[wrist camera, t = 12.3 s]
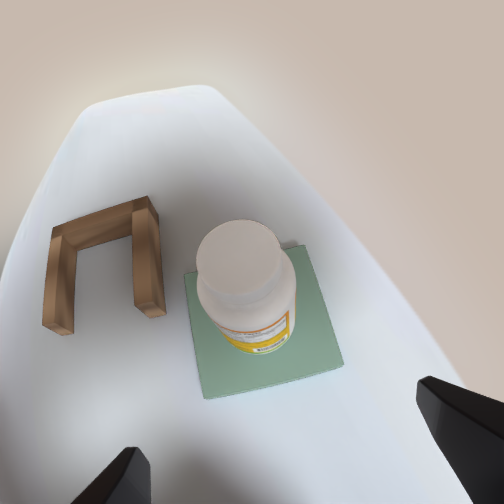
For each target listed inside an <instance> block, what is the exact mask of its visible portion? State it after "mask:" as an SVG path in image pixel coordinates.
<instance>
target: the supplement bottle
mask: <svg viewBox="0 0 504 504" xmlns="http://www.w3.org/2000/svg"><path fill="white" fill-rule="evenodd" d="M196 266H197V271H198V277H197V293H198V297H199V300H200V303H201V305H202V307H203V308H204V310H205V311H206V313H207V314H208V316H209V317H210V318H211V320H212V321H213V322H214V324H215V325H216V326H217V327H218V329H219V330H220V331H221V333H222V334H223V335H224V337H225V338H226V339H227V341H228V342H229V343H230V344H231V345H233V346H234V347H235V348H237V349H238V350H240V351H242V352H244V353H248V354H255V355H258V354H266V353H270V352H272V351H275V350H276V349H278V348H280V347H281V346H282V345H283V344H284V343H285V342H286V341H287V340H288V339H289V337H290V336H291V334H292V332H293V329H294V326H295V319H296V276H295V271H294V267H293V264H292V262H291V260H290V259H289V257H288V256H287V254H286V253H285V252H284V251H283V250H282V249H281V247H280V244H279V241H278V239H277V237H276V236H275V234H274V233H273V232H272V231H271V230H270V229H269V228H267V227H266V226H264V225H263V224H261V223H258V222H256V221H252V220H246V219H240V220H232V221H228V222H225V223H223V224H221V225H219V226H217V227H215V228H214V229H213V230H211V231H210V232H209V233H208V234H207V235H206V236H205V237H204V239H203V240H202V242H201V244H200V246H199V248H198V251H197V255H196Z"/></svg>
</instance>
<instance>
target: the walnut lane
mask: <svg viewBox="0 0 504 504" xmlns="http://www.w3.org/2000/svg"><path fill="white" fill-rule="evenodd" d="M128 235H132V256H133V287H134V305H135V306H136V307H137V308H138V309H139V310H141V311H142V312H143V313H144V314H145V315H147V316H148V317H149V318H153V317H158V316H163V315H166V307H165V297H164V287H163V277H162V265H161V252H160V238H159V221H158V214H157V212H156V210H155V208H154V207H153V205H152V203H151V201H150V199H149V198H148V196H145V197H142V198H138V199H135V200H132V201H129V202H125V203H122V204H119V205H116V206H113V207H110V208H107V209H104V210H101V211H98V212H95V213H92V214H89V215H86V216H83V217H80V218H78V219H75V220H72V221H69V222H66V223H64V224H61V225H58V226H56V227H53V229H52V235H51V242H50V248H49V255H48V263H47V271H46V280H45V290H44V302H43V319H42V325H43V326H45V327H47V328H48V329H50V330H52V331H54V332H56V333H58V334H60V335H68V334H73V333H74V291H75V273H76V260H77V251H79V250H82V249H85V248H88V247H92V246H95V245H98V244H101V243H105V242H108V241H111V240H115V239H118V238H122V237H125V236H128Z"/></svg>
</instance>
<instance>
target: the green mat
mask: <svg viewBox="0 0 504 504" xmlns="http://www.w3.org/2000/svg"><path fill="white" fill-rule="evenodd" d="M283 251H284V252H285V253H286V254H287V256H288V257H289V259H290V260H291V262H292V264H293V267H294V271H295V276H296V319H295V326H294V329H293V332H292V334H291V336H290V337H289V339H288V340H287V341H286V342H285V343H284V344H283V345H282V346H281V347H280V348H278V349H276V350H275V351H272V352H270V353H266V354H258V355H255V354H248V353H244V352H242V351H240V350H238V349H237V348H235V347H234V346H233V345H231V344H230V343H229V342H228V341H227V339H226V338H225V337H224V335H223V334H222V333H221V331H220V330H219V329H218V327H217V326H216V325H215V324H214V322H213V321H212V320H211V318H210V317H209V316H208V314H207V313H206V311H205V310H204V308H203V307H202V305H201V303H200V300H199V297H198V293H197V277H198V271H196V272H192V273H188V274H184V279H185V287H186V294H187V301H188V308H189V315H190V322H191V328H192V335H193V341H194V347H195V353H196V359H197V365H198V370H199V376H200V381H201V387H202V392H203V397H204V399H214V398H219V397H224V396H230V395H235V394H239V393H244V392H249V391H253V390H258V389H262V388H266V387H271V386H275V385H279V384H283V383H287V382H291V381H295V380H298V379H302V378H306V377H309V376H313V375H316V374H320V373H323V372H327V371H330V370H333V369H336V368H340V367H342V366H343V365H344V362H343V359H342V356H341V352H340V349H339V346H338V343H337V340H336V336H335V333H334V330H333V327H332V324H331V321H330V318H329V315H328V312H327V309H326V305H325V302H324V299H323V296H322V293H321V290H320V288H319V285H318V282H317V279H316V276H315V273H314V270H313V267H312V264H311V261H310V259H309V256H308V253H307V250H306V247H305V245H301V246H297V247H293V248H289V249H285V250H283Z"/></svg>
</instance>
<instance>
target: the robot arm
mask: <svg viewBox="0 0 504 504" xmlns="http://www.w3.org/2000/svg"><path fill="white" fill-rule="evenodd" d="M416 402H417V405H418V407H419V409H420V411H421V413H422V415H423V417H424V419H425V421H426V423H427V426H428V428H429V430H430V432H431V434H432V436H433V438H434V440H435V442H436V443H437V445H438V446H439V448H440V450H441V451H442V453H443V454H444V456H445V458H446V459H447V461H448V462H449V464H450V466H451V467H452V469H453V470H454V472H455V474H456V475H457V477H458V479H459V480H460V482H461V484H462V485H463V487H464V488H465V490H466V492H467V494H468V495H469V497H470V499H471V500H472V502H473V504H504V403H503V402H500V401H498V400H494V399H492V398H489V397H486V396H483V395H480V394H478V393H475V392H472V391H470V390H467V389H464V388H461V387H459V386H456V385H453V384H451V383H448V382H445V381H443V380H440V379H438V378H435V377H432V376H427V377H424V378H422V379H420V380H419V381H418V383H417V393H416ZM71 504H151V482H150V464H149V461H148V460H147V459H146V457H145V456H144V454H143V453H142V452H141V450H140V449H139V448H138V447H126V448H125V449H123V451H122V452H121V453H120V454H119V455H118V456H117V457H116V458H115V459H114V460H113V461H112V462H111V463H110V464H109V465H108V466H107V467H106V468H105V469H104V470H103V471H102V472H101V473H100V474H99V475H98V476H97V477H96V478H95V479H94V481H93V482H92V483H91V484H90V485H89V486H88V487H87V488H86V489H85V490H84V491H83V492H82V493H81V494H80V495H79V496H78V497H77V498H76V499H75V500H74V501H73V502H72V503H71Z"/></svg>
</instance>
